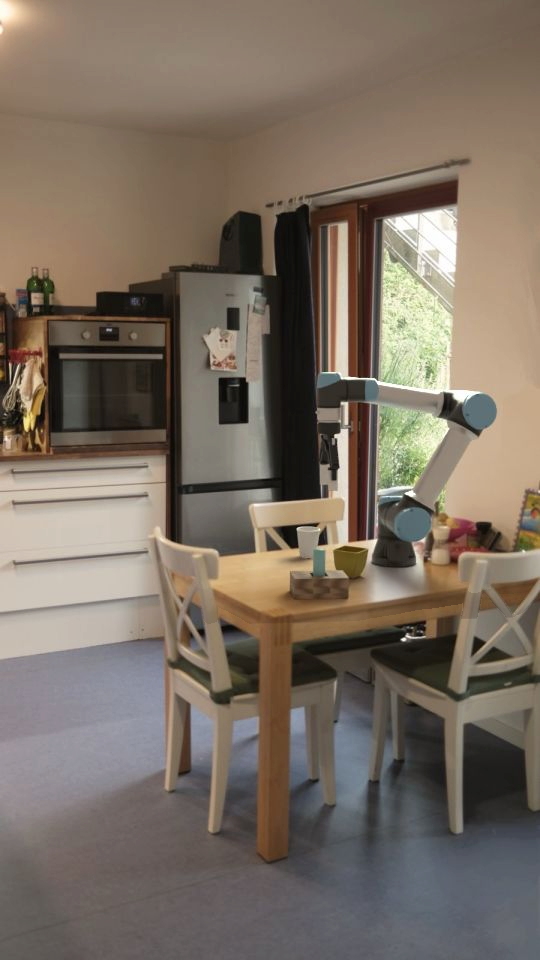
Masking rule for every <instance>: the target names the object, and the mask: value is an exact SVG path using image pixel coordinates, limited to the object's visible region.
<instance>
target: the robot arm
mask: <svg viewBox="0 0 540 960" xmlns="http://www.w3.org/2000/svg"><path fill="white" fill-rule="evenodd" d="M316 382H317V383H316V385H317V386H316V392H317V393H316V394H317V395H316V396H317V398H316V399H317V400H316V401H317V403H316V404H317V407H316V408H317V409H316V411H315V414H316V415H317V423H316V433H317V434H318V435H320V445H319V454H318V462H319V464H320V465H319V485H321V486H323V485H325V486H326V485H327V486H328V491H329V492H335V491H336V492H338V487H339V486H338V485H339V481H338V480H339V476H338V475H339V474H338V473H339V471H338V470H339V469H340V460H339V459H340V457H339V450H338V449H339V448H338V447H339V446H338V437H336V438H335V435H339V434H341V431H342V430H341V429H342V427H341V426H342V423H341V422H340V421H341V420H342V403H364V404H372V405H376V406H383V407H389V408H395V409H401V410H402V409H403V410H407V411H413V412H420V413H425V414H431V415H432V417H433V418H438V419H441V420H446V424H447V429H446V431H445V432H444V434H443V436H442V438H441V439H440V440H439V443H438V445H437V447H436V448H435V450H434V452H433V453H432V455H431V457H430V458H429V460H428V462H427V463H426V465H425V467H424V469H423V470H422V472H421V474H420V476H419V477H418V479H417V481H416V482H415V484H414V486H413V487H412V489H411V490H410V491H408V492H405V493H403V495H385V496H384V495H383V496H380V497H379V498H378V503H377V539H376V542H375V546H374V548H373V551H372V553H371V562H372V564H375V565H377V566H382V567H392V568H393V567H394V568H400V567H401V568H404V567H410V566H415V565H416V564H417V554H416V551H415V548H414V545H413V543H417V542H420V541H422V540H424V539H425V538H426V537H427V536H428V535H429V534H430V532H431V529H432V525H433V523H432V519H433V516H434V515H435V513H436V507H435V504H436V502H437V500H438V498H439V497H440V496H441V493H442V492H443V490H444V489H445V487H446V486H447V483H448V481H449V480H450V478H451V476H452V474H453V473H454V471H455V470H456V467H457V466H458V464H459V462H460V461H461V460H462V458H463V456H464V453H466V451H467V449H468V447H469V446H470V444H471V442H473V441H474V440H478V439H480V436H481V434H482V433H483V431H484V430H485V429H487V428H489V427H491V426H492V425H493V424H494V422H495V420H496V419H497V414H498V408H497V404H496V401H495V400H494V399H493V397H491V396H490V395H489V394H487V393H484V392H482V391H476V390H475V391H471V390H467V389H466V390H450V389H449V390H447V389H437V390H436V391H435V390H428V389H421V388H418V387H417V388H416V387H409V386H405V385H397V384H393V383H386V382H381V381H378V380H377V379H376V378H371V377H370V378H368V377H361V378H359V377H351V376H343V377H342V373H340V372H336V371H335V372H333V371H331V372H330V371H329V372H328V371H326V372H324V371H323V372H319V373H318V375H317V381H316Z"/></svg>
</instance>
